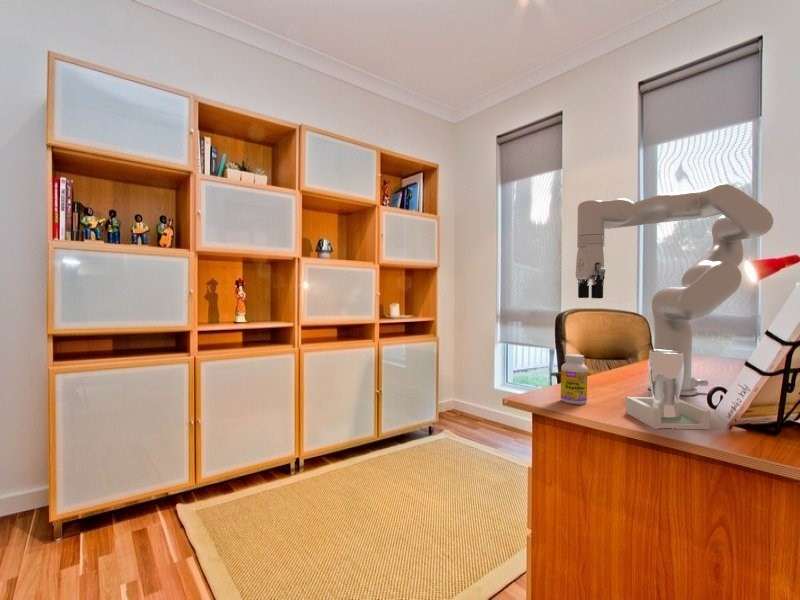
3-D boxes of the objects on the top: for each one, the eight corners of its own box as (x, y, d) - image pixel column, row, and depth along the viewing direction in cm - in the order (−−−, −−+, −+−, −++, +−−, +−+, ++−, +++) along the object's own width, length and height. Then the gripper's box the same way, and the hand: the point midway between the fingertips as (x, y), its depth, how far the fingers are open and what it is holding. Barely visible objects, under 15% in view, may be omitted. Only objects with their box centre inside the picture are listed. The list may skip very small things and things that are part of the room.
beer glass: (688, 420, 93) (689, 354, 92) (654, 418, 94) (655, 353, 94) (674, 411, 99) (675, 349, 99) (642, 410, 101) (643, 349, 101)
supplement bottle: (561, 403, 111) (561, 356, 111) (560, 398, 117) (560, 352, 117) (588, 406, 109) (588, 357, 109) (585, 400, 115) (586, 354, 115)
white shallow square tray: (675, 413, 102) (675, 397, 102) (709, 429, 90) (709, 411, 90) (625, 412, 103) (626, 396, 103) (653, 428, 91) (654, 410, 91)
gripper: (567, 245, 135) (567, 297, 135) (590, 238, 118) (589, 298, 118) (590, 245, 135) (590, 297, 135) (617, 238, 117) (616, 298, 118)
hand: (590, 298), depth 126 cm, fingers open, 9 cm apart
